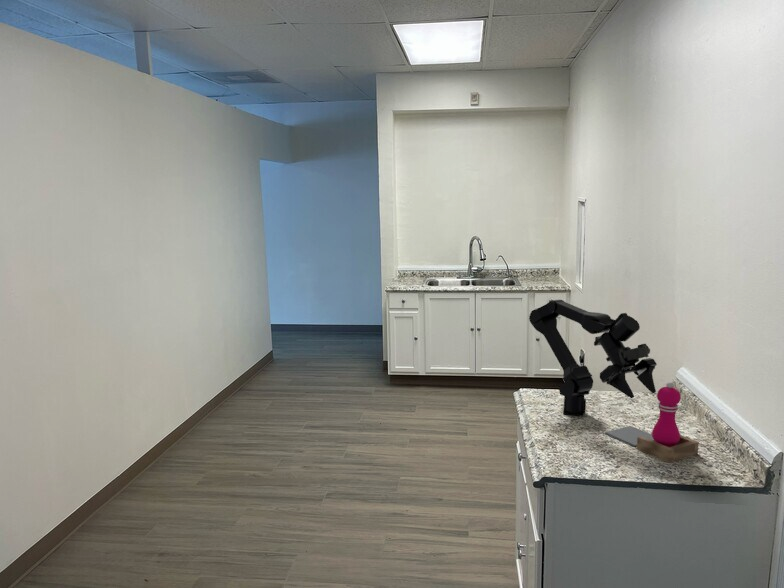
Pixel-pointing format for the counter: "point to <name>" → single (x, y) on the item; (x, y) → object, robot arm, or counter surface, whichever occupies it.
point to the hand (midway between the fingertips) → (643, 395)
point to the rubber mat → (629, 435)
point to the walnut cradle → (669, 449)
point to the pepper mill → (667, 416)
